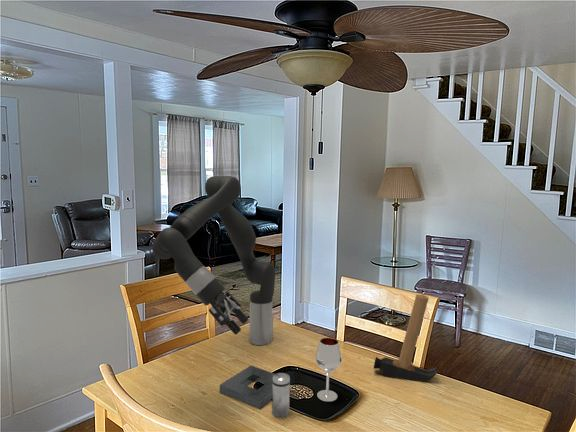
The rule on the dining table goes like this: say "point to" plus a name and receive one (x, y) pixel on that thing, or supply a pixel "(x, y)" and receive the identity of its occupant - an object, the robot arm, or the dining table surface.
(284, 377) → the cylinder
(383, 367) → the hammer
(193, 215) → the robot arm
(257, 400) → the grey square frame
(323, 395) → the wineglass
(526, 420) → the dining table surface
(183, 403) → the dining table surface
